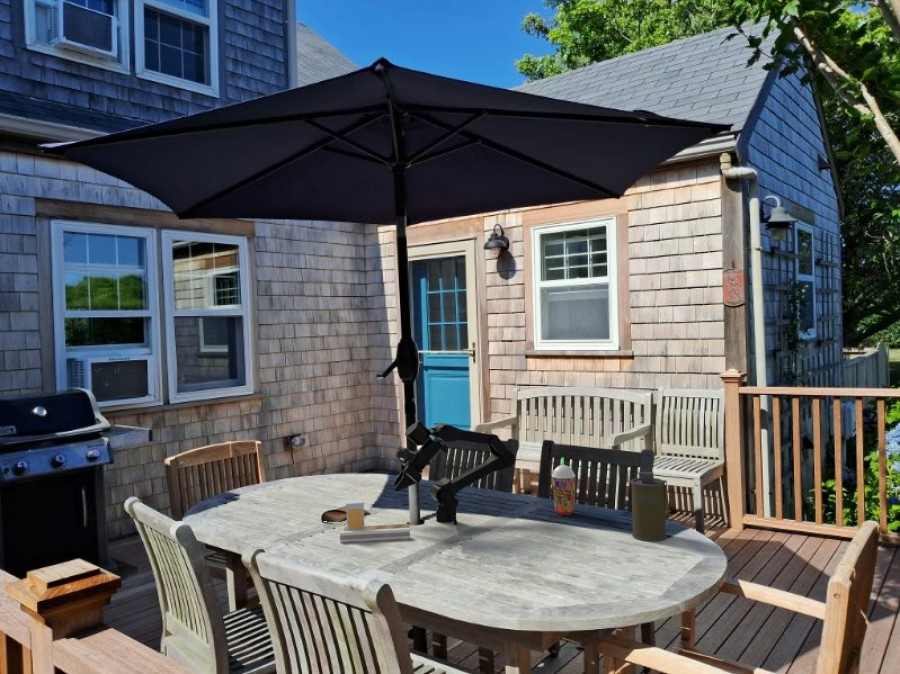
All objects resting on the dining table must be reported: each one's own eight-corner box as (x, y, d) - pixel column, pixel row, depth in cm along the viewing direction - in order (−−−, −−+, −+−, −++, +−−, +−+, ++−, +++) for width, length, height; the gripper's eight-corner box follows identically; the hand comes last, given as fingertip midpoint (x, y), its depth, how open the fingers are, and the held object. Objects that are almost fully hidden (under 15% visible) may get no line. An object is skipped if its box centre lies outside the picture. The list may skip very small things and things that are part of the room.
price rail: (409, 537, 233) (409, 527, 232) (409, 538, 231) (409, 529, 231) (340, 540, 231) (340, 531, 231) (340, 542, 230) (339, 533, 229)
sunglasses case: (337, 524, 254) (330, 507, 256) (325, 532, 258) (318, 515, 260) (372, 513, 268) (365, 496, 270) (361, 520, 272) (354, 504, 274)
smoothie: (550, 515, 255) (548, 459, 255) (556, 509, 263) (554, 454, 263) (573, 517, 252) (571, 460, 252) (578, 511, 260) (576, 455, 260)
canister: (630, 540, 224) (628, 475, 224) (634, 530, 234) (632, 468, 233) (666, 542, 220) (664, 477, 220) (669, 533, 230) (667, 470, 229)
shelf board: (409, 526, 248) (409, 523, 248) (410, 542, 230) (409, 539, 230) (345, 530, 247) (344, 527, 247) (340, 546, 229) (340, 543, 229)
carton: (364, 532, 240) (363, 499, 239) (364, 536, 235) (363, 502, 235) (347, 533, 239) (346, 500, 239) (347, 538, 234) (346, 504, 234)
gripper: (407, 434, 257) (377, 467, 256) (410, 442, 239) (378, 477, 238) (430, 455, 258) (400, 487, 257) (435, 464, 240) (403, 500, 239)
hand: (395, 487), depth 248 cm, fingers open, 9 cm apart
